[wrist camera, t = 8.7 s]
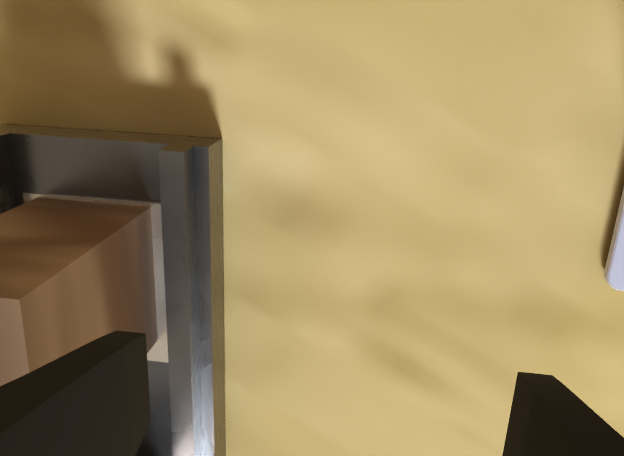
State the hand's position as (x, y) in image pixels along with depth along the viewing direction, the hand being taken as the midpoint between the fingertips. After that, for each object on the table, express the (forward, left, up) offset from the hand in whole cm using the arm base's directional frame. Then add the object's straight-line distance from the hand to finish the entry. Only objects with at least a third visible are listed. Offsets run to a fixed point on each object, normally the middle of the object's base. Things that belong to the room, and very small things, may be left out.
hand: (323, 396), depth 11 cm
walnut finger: (+9, +1, -8) cm, 12 cm away
